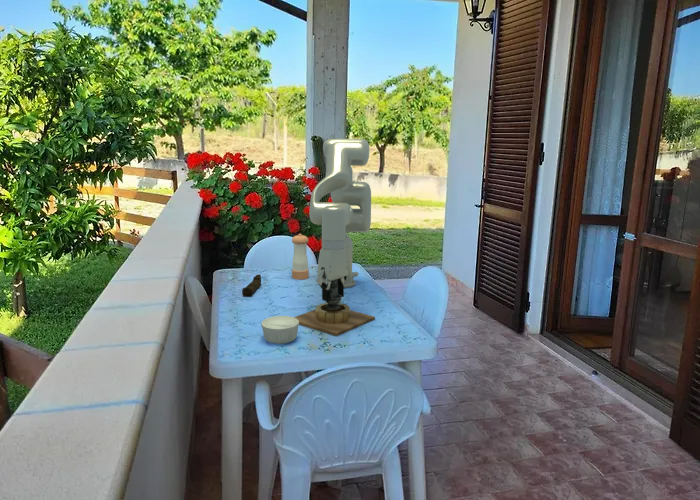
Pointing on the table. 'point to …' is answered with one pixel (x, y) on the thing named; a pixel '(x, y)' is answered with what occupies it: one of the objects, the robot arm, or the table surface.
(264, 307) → the table surface
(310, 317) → the wooden board
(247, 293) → the brown long rounded piece
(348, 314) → the wooden ring
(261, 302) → the table surface
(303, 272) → the pepper shaker
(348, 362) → the table surface
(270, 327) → the ramekin
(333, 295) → the stone chess piece
